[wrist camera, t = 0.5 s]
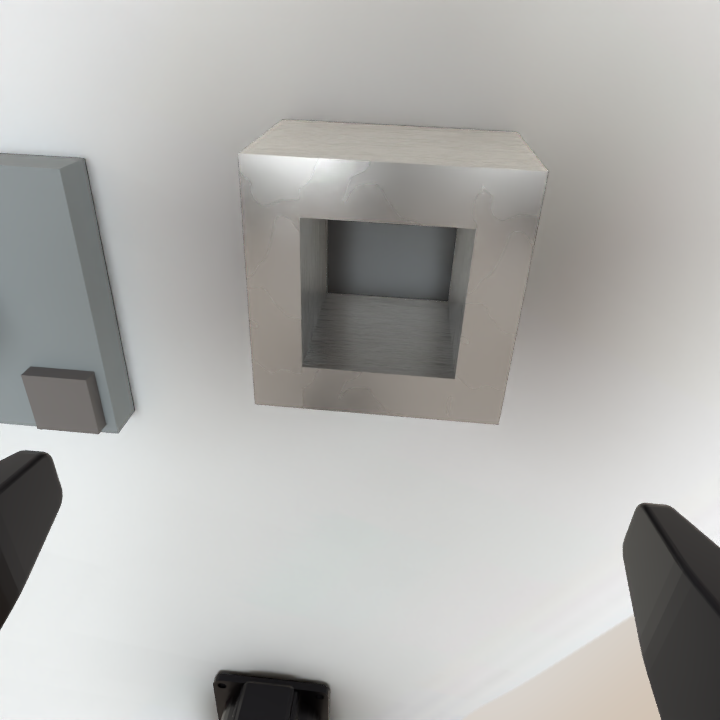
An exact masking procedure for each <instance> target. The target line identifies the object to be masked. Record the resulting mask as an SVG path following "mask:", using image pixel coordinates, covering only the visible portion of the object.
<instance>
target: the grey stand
mask: <svg viewBox="0 0 720 720" xmlns="http://www.w3.org/2000/svg"><path fill="white" fill-rule="evenodd" d="M134 411H135V410H134V405H133V400H132V395H131V390H130V385H129V380H128V375H127V370H126V365H125V360H124V355H123V350H122V345H121V340H120V335H119V330H118V325H117V320H116V315H115V310H114V305H113V300H112V295H111V290H110V285H109V280H108V275H107V270H106V265H105V260H104V255H103V249H102V244H101V239H100V234H99V229H98V224H97V219H96V214H95V209H94V204H93V199H92V194H91V189H90V184H89V179H88V174H87V169H86V164H85V159H84V158H72V157H56V156H39V155H22V154H5V153H0V423H4V424H16V425H27V426H37V429H47V430H59V431H70V432H81V433H93V434H99V433H100V432H106V433H119V432H120V431H121V429H122V428H123V426H124V425H125V424H126V422H127V421H128V419H129V418H130V417H131V415H132V414H133V412H134Z"/></svg>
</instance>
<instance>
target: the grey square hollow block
mask: <svg viewBox="0 0 720 720" xmlns="http://www.w3.org/2000/svg"><path fill="white" fill-rule="evenodd" d="M238 163H239V177H240V192H241V207H242V222H243V236H244V251H245V266H246V280H247V295H248V310H249V324H250V339H251V354H252V368H253V383H254V398H255V404H259V405H270V406H282V407H294V408H306V409H318V410H330V411H342V412H354V413H365V414H377V415H389V416H401V417H413V418H425V419H437V420H449V421H461V422H472V423H484V424H496V425H499V420H500V415H501V410H502V405H503V400H504V395H505V390H506V385H507V380H508V374H509V369H510V364H511V359H512V354H513V349H514V344H515V339H516V334H517V329H518V324H519V319H520V314H521V309H522V304H523V299H524V294H525V289H526V284H527V279H528V274H529V269H530V264H531V258H532V253H533V248H534V243H535V238H536V233H537V228H538V223H539V218H540V213H541V208H542V203H543V198H544V193H545V188H546V183H547V178H548V173H549V171H548V170H547V169H546V168H545V166H544V165H543V164H542V163H541V161H540V160H539V159H538V157H537V156H536V155H535V154H534V152H533V151H532V150H531V149H530V147H529V146H528V145H527V144H526V142H525V141H524V140H523V139H522V137H521V136H520V135H519V133H518V132H509V131H490V130H472V129H454V128H435V127H417V126H399V125H380V124H362V123H344V122H325V121H307V120H289V119H282V120H281V121H280V122H278V123H277V124H276V125H274V126H273V127H272V128H270V129H269V130H268V131H267V132H265V133H264V134H263V135H261V136H260V137H259V138H257V139H256V140H255V141H254V142H252V143H251V144H250V145H248V146H247V147H246V148H244V149H243V150H242V151H240V152H239V153H238ZM328 219H329V220H344V221H360V222H375V223H390V224H406V225H421V226H437V227H452V228H457V233H456V241H455V249H454V257H453V265H452V273H451V280H450V288H449V296H448V301H437V300H423V299H409V298H395V297H381V296H368V295H354V294H340V293H327V260H328Z"/></svg>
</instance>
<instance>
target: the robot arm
mask: <svg viewBox="0 0 720 720" xmlns="http://www.w3.org/2000/svg"><path fill="white" fill-rule="evenodd" d="M62 496H63V495H62V488H61V485H60V481H59V478H58V475H57V472H56V469H55V465H54V462H53V459H52V457H51V456H50V455H49V454H48V453H46V452H39V451H28V450H25V451H19V452H17V453H15V454H13V455H11V456H9V457H7V458H5V459H3V460H1V461H0V630H1V628H2V626H3V624H4V623H5V621H6V619H7V617H8V616H9V614H10V612H11V610H12V609H13V607H14V605H15V603H16V601H17V600H18V598H19V596H20V594H21V592H22V590H23V588H24V586H25V584H26V582H27V580H28V577H29V575H30V573H31V571H32V569H33V566H34V564H35V562H36V560H37V557H38V555H39V553H40V551H41V549H42V546H43V544H44V542H45V540H46V537H47V535H48V533H49V531H50V529H51V526H52V524H53V522H54V520H55V517H56V515H57V513H58V511H59V509H60V506H61V503H62ZM623 560H624V565H625V570H626V575H627V580H628V586H629V591H630V596H631V601H632V607H633V612H634V617H635V622H636V627H637V633H638V638H639V642H640V647H641V652H642V656H643V660H644V664H645V667H646V671H647V675H648V678H649V681H650V684H651V688H652V691H653V694H654V697H655V701H656V704H657V707H658V710H659V714H660V717H661V720H720V547H719V546H717V545H716V544H715V543H714V542H713V541H711V540H710V539H709V538H708V537H707V536H706V535H704V534H703V533H702V532H701V531H700V530H698V529H697V528H696V527H695V526H694V525H693V524H691V523H690V522H689V521H688V520H687V519H686V518H684V517H683V516H682V515H681V514H680V513H678V512H677V511H676V510H675V509H674V508H672V507H671V506H668V505H664V504H653V503H642V504H639V505H638V506H637V508H636V510H635V512H634V515H633V517H632V520H631V523H630V525H629V528H628V531H627V533H626V536H625V539H624V542H623ZM213 686H214V693H215V699H216V705H217V711H218V717H219V720H329V688H328V687H326V686H324V685H320V684H311V683H302V682H293V681H284V680H276V679H267V678H258V677H249V676H240V675H231V674H217V675H216V677H215V680H214V683H213Z"/></svg>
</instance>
